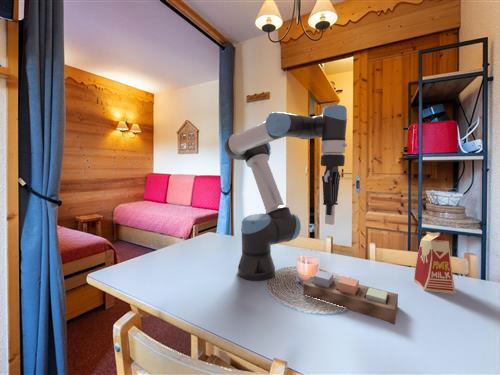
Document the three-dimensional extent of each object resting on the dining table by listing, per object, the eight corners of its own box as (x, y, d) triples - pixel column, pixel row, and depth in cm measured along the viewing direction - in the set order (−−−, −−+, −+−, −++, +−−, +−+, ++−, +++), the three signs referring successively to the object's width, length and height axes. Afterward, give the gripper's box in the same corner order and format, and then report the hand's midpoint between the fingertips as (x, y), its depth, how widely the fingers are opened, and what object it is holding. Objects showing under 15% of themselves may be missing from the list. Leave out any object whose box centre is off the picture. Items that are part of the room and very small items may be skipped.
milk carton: (455, 293, 79) (459, 234, 78) (424, 291, 81) (427, 233, 80) (440, 281, 88) (442, 228, 87) (412, 279, 90) (414, 227, 89)
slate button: (313, 288, 80) (313, 275, 79) (318, 282, 84) (318, 270, 83) (328, 293, 77) (328, 279, 76) (333, 286, 81) (333, 274, 80)
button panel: (303, 295, 79) (303, 283, 79) (314, 283, 87) (314, 273, 87) (394, 324, 64) (394, 310, 64) (397, 306, 72) (397, 294, 72)
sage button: (365, 308, 70) (365, 294, 70) (368, 301, 74) (369, 287, 74) (384, 314, 68) (385, 299, 67) (387, 306, 72) (387, 292, 71)
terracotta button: (337, 295, 75) (338, 282, 75) (342, 289, 79) (342, 276, 79) (354, 300, 72) (355, 286, 72) (358, 293, 76) (358, 280, 76)
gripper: (338, 153, 72) (335, 230, 74) (349, 154, 82) (345, 221, 85) (314, 153, 76) (311, 226, 79) (327, 154, 87) (324, 218, 89)
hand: (329, 223), depth 82 cm, fingers closed
